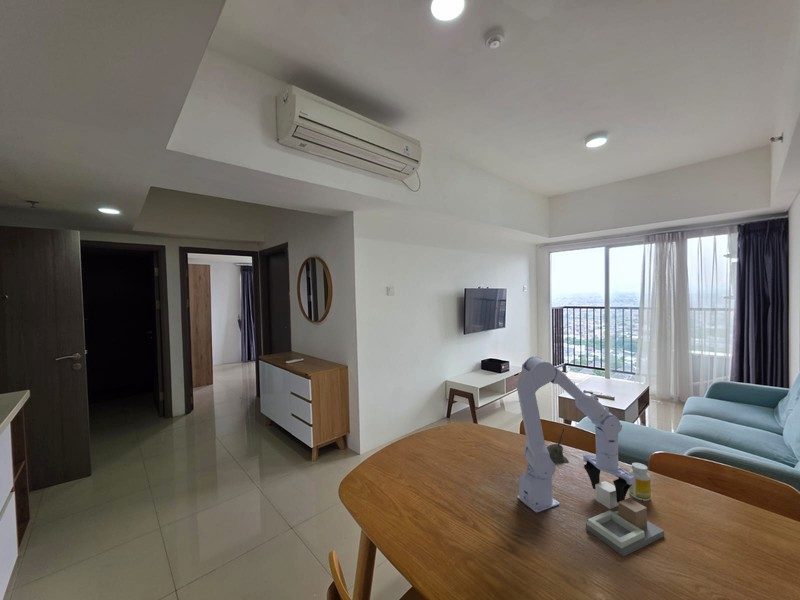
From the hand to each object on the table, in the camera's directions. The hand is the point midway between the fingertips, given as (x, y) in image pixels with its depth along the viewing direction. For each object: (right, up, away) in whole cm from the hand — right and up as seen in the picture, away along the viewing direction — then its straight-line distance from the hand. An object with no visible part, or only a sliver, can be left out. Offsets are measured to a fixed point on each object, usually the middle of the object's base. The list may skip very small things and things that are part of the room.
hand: (607, 495), depth 97 cm
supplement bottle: (+12, -2, +3) cm, 12 cm away
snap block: (0, -2, 0) cm, 2 cm away
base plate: (-4, -2, -12) cm, 13 cm away
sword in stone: (-3, -3, +27) cm, 27 cm away
